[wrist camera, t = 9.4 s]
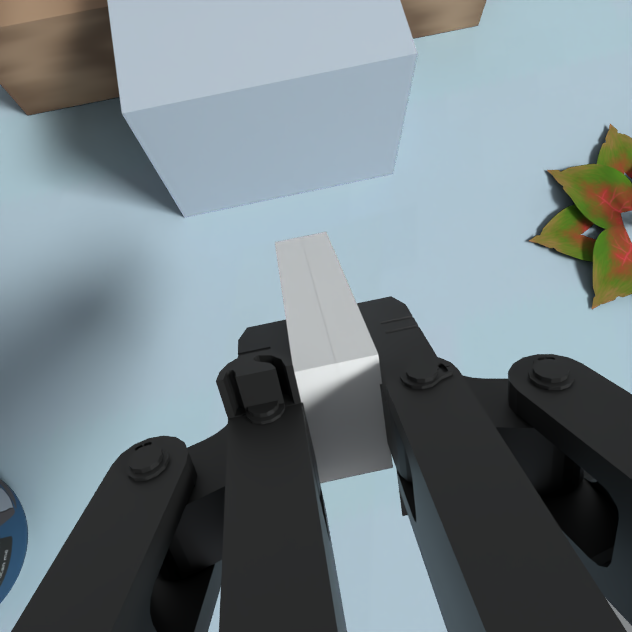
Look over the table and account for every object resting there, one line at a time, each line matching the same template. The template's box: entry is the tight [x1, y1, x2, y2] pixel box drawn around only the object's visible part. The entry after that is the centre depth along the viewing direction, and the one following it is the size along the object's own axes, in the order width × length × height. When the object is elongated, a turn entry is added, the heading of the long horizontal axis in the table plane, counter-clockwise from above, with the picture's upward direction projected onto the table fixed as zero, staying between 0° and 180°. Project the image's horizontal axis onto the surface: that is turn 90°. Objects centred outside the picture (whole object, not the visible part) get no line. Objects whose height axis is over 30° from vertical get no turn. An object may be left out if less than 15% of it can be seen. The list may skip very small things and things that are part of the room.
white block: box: [107, 0, 418, 217], centre depth 26 cm, size 12×8×9 cm, turn 102°
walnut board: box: [0, 0, 486, 115], centre depth 29 cm, size 28×3×6 cm, turn 102°
